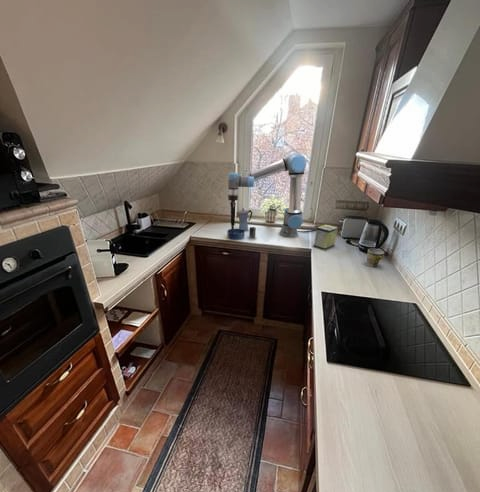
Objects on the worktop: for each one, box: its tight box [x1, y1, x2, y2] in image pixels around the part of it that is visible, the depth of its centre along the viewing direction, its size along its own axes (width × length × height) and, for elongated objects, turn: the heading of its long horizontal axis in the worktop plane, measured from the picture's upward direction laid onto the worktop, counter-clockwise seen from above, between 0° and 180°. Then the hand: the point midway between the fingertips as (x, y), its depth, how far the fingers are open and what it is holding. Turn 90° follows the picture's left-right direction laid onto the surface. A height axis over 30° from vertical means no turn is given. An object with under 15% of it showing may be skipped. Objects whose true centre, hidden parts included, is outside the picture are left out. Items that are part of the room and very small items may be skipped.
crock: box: [248, 226, 257, 239], centre depth 214 cm, size 5×5×9 cm
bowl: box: [226, 228, 246, 241], centre depth 214 cm, size 14×14×6 cm
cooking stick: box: [230, 224, 235, 233], centre depth 209 cm, size 2×2×18 cm
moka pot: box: [236, 208, 253, 232], centre depth 229 cm, size 10×15×20 cm, turn 115°
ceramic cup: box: [365, 248, 385, 268], centre depth 172 cm, size 13×10×10 cm
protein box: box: [313, 223, 339, 251], centre depth 201 cm, size 10×16×16 cm
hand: (232, 224), depth 209 cm, fingers closed on cooking stick, 2 cm apart
